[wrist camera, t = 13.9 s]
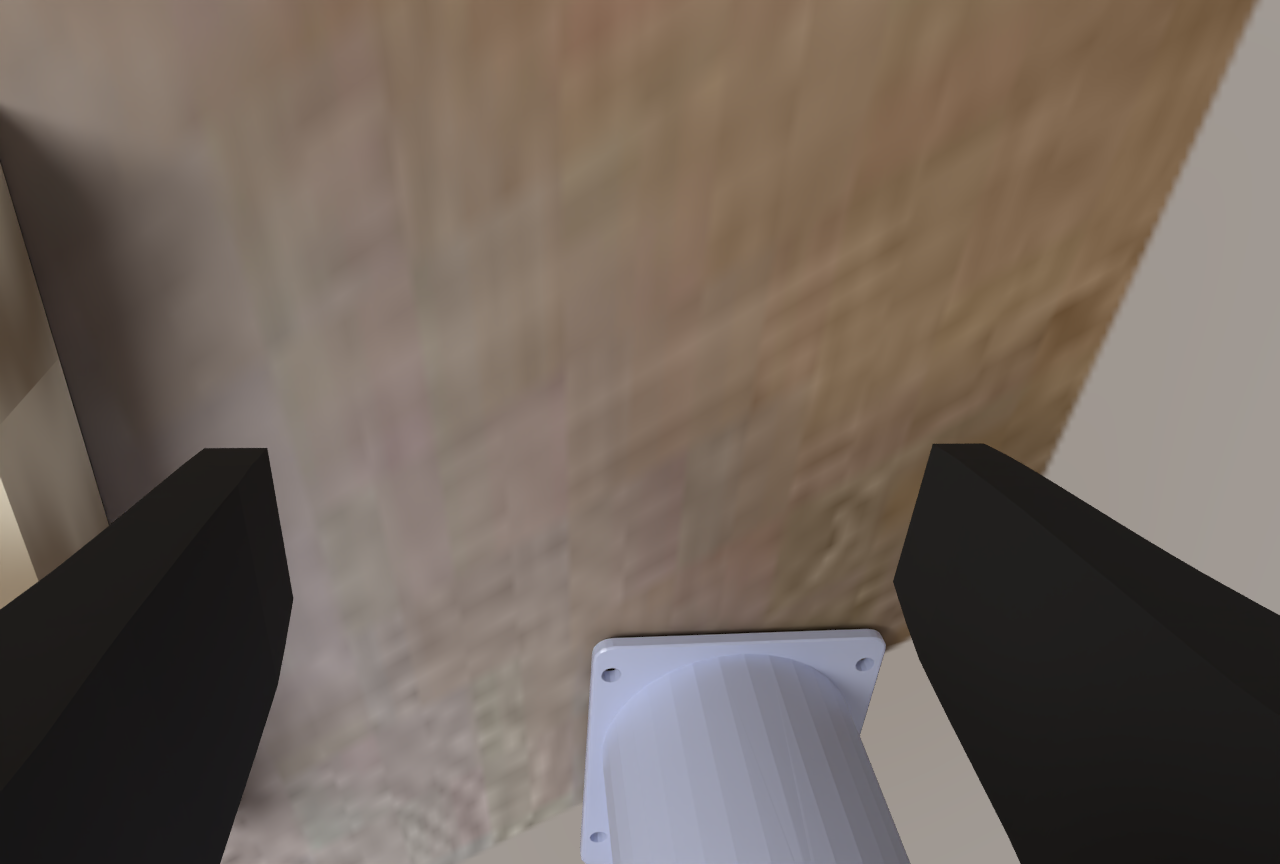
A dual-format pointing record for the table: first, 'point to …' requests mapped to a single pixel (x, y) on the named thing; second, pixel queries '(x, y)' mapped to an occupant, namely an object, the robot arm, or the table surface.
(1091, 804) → the robot arm
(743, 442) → the table surface
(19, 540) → the slotted wooden holder
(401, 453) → the table surface
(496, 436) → the table surface
